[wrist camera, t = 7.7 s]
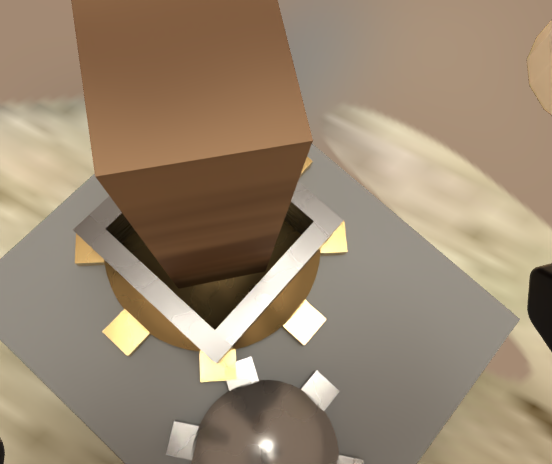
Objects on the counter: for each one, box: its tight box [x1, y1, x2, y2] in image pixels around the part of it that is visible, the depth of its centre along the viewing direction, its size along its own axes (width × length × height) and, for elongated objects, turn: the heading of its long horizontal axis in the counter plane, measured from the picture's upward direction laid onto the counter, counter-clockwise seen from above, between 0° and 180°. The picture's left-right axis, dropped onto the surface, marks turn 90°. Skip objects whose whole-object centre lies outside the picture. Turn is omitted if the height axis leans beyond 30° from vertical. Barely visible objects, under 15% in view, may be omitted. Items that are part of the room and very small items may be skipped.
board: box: [0, 144, 520, 464], centre depth 21 cm, size 15×18×1 cm
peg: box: [71, 0, 313, 289], centre depth 15 cm, size 4×4×12 cm
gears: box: [73, 157, 364, 464], centre depth 19 cm, size 14×16×3 cm
